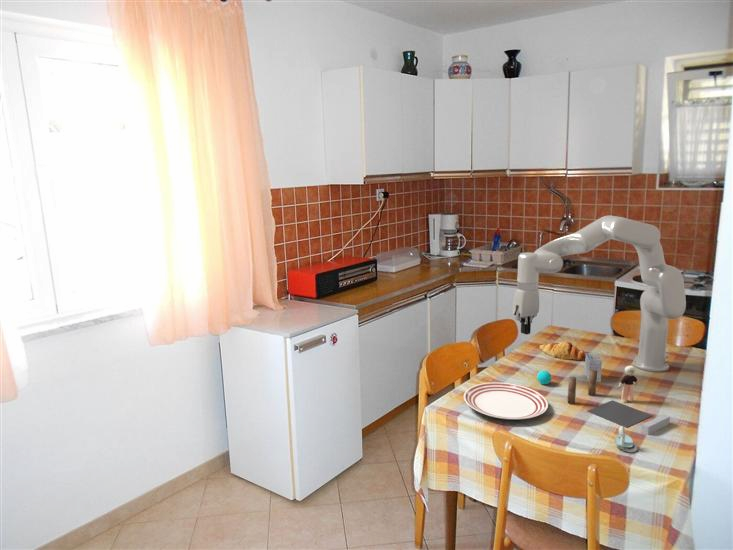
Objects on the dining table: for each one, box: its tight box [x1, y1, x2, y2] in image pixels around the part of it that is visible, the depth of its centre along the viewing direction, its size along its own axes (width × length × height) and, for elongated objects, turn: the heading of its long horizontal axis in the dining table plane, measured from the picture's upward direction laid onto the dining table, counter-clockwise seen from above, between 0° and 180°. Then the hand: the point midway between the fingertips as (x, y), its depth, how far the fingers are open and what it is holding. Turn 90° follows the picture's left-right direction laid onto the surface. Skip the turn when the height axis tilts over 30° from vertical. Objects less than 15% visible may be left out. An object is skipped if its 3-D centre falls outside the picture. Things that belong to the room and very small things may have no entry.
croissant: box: [539, 341, 587, 361], centre depth 230 cm, size 21×10×8 cm, turn 48°
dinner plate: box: [463, 381, 549, 420], centre depth 183 cm, size 28×27×3 cm
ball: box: [536, 370, 552, 385], centre depth 201 cm, size 5×5×5 cm
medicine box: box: [584, 352, 603, 383], centre depth 205 cm, size 8×4×9 cm, turn 168°
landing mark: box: [586, 399, 653, 429], centre depth 177 cm, size 14×14×1 cm
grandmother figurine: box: [617, 365, 639, 404], centre depth 185 cm, size 8×4×13 cm, turn 118°
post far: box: [567, 376, 577, 405], centre depth 185 cm, size 2×2×9 cm
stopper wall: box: [640, 413, 671, 435], centre depth 167 cm, size 12×2×2 cm, turn 123°
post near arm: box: [587, 369, 597, 397], centre depth 191 cm, size 2×2×9 cm
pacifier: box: [614, 425, 639, 453], centre depth 156 cm, size 7×6×6 cm
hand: (525, 333), depth 206 cm, fingers closed
